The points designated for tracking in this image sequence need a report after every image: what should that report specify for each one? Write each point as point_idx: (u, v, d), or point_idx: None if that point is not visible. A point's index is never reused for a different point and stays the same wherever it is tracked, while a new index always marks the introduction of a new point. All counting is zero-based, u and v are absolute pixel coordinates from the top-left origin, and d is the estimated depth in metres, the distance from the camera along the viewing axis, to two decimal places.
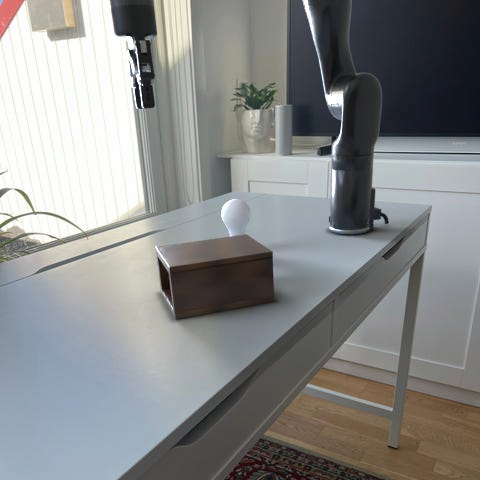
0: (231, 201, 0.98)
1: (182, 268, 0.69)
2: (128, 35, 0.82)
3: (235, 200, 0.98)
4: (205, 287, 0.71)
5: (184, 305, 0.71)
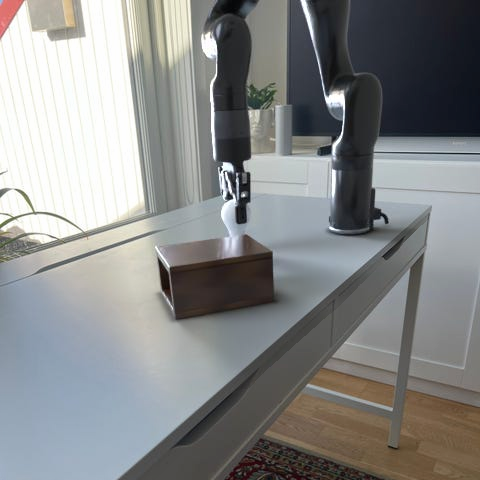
0: (231, 201, 0.98)
1: (182, 268, 0.69)
2: (228, 161, 0.93)
3: None
4: (205, 287, 0.71)
5: (184, 305, 0.71)
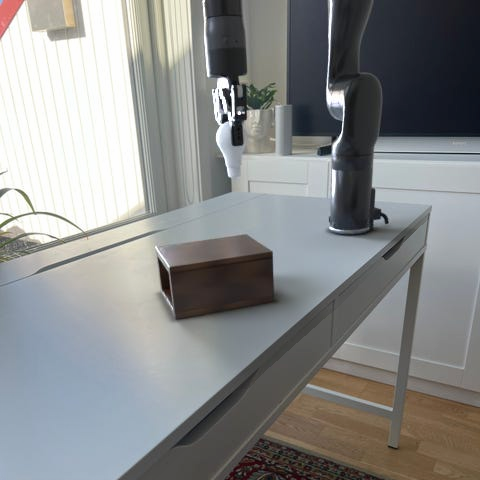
0: (226, 123, 0.92)
1: (182, 268, 0.69)
2: (222, 75, 0.87)
3: None
4: (205, 287, 0.71)
5: (184, 305, 0.71)
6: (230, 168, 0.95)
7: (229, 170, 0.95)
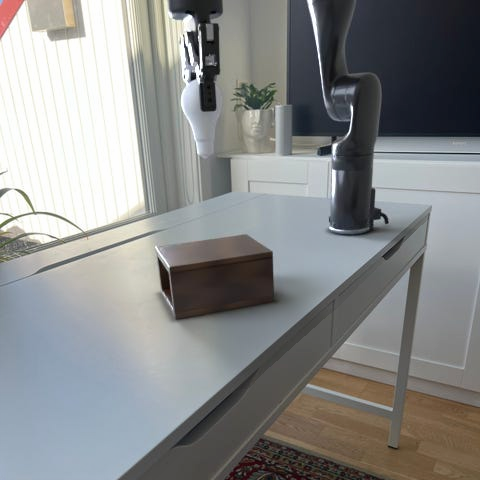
0: (194, 80, 0.68)
1: (182, 268, 0.69)
2: (188, 12, 0.64)
3: None
4: (205, 287, 0.71)
5: (184, 305, 0.71)
6: (199, 143, 0.72)
7: (198, 145, 0.72)
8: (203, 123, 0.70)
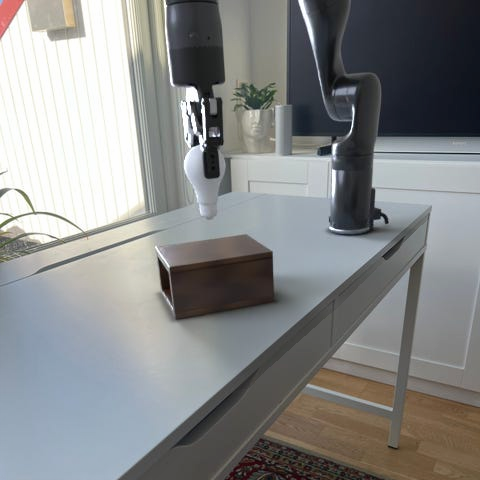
0: (197, 147, 0.69)
1: (182, 268, 0.69)
2: (190, 84, 0.64)
3: None
4: (205, 287, 0.71)
5: (184, 305, 0.71)
6: (203, 206, 0.72)
7: (202, 208, 0.72)
8: (206, 188, 0.70)
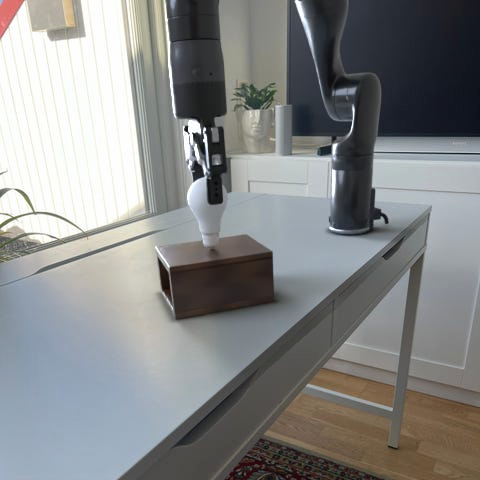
0: (200, 180, 0.71)
1: (182, 268, 0.69)
2: (193, 117, 0.65)
3: None
4: (205, 287, 0.71)
5: (184, 305, 0.71)
6: (206, 236, 0.74)
7: (204, 238, 0.74)
8: (209, 219, 0.72)
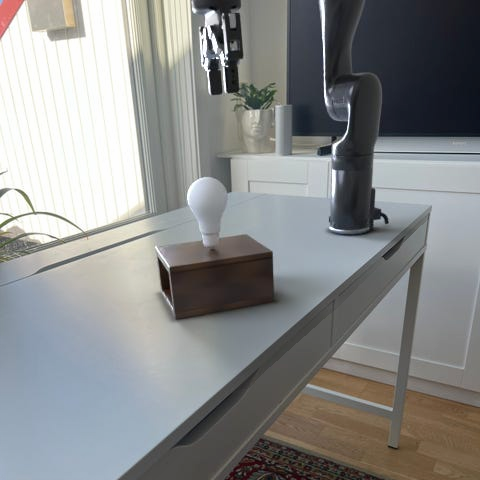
0: (200, 180, 0.71)
1: (182, 268, 0.69)
2: (211, 8, 0.71)
3: (206, 178, 0.71)
4: (205, 287, 0.71)
5: (184, 305, 0.71)
6: (206, 236, 0.74)
7: (204, 238, 0.74)
8: (209, 219, 0.72)
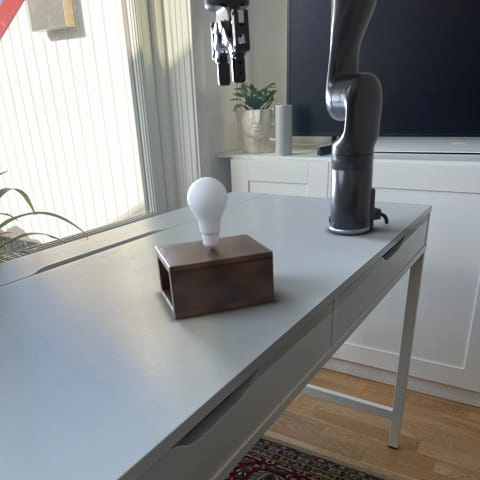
0: (200, 180, 0.71)
1: (182, 268, 0.69)
2: (221, 5, 0.78)
3: (206, 178, 0.71)
4: (205, 287, 0.71)
5: (184, 305, 0.71)
6: (206, 236, 0.74)
7: (204, 238, 0.74)
8: (209, 219, 0.72)
